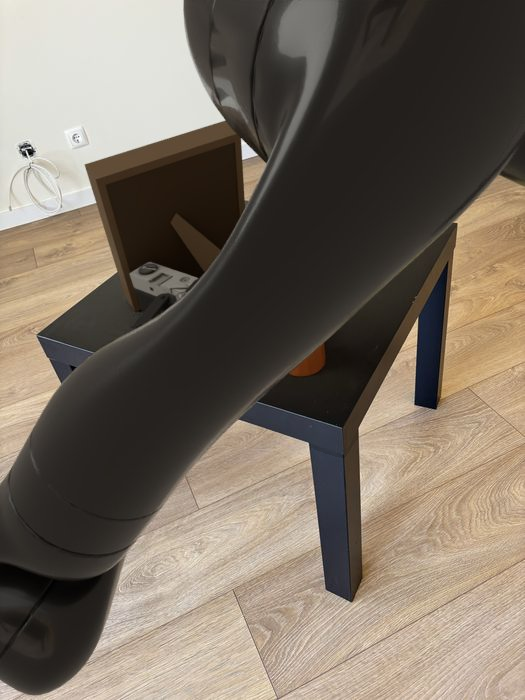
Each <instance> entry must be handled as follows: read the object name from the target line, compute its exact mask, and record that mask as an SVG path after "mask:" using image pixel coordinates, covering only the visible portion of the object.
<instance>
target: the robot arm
mask: <svg viewBox="0 0 525 700" xmlns="http://www.w3.org/2000/svg"><path fill="white" fill-rule="evenodd" d="M182 11H183V12H182V13H183V25H184V32H185V33H184V34H185V39H186V43H187V47H188V51H189V55H190V57H191V60H192V64H193V66H194V68H195V71H196V73H197V74H198V77H199V79H200V82H201V84H202V87H203V88H204V91H206V93H207V95H208V97H209V99H210V101H211V102H212V104H213V105H214V107H215V108H216V110H217V111H218V112H219V113H220V115H221V117H222V118H223V119H224V121H225V120H226V122H227V123H228V125H229V126H230V127H231V128H232V129H233V130H234V132H235V133H236V134H237V135H238V136H239V137H240V138H241V141H243V142H244V143H245V144H246V145H248V147H249V148H250V149H251V150H252V151H253V152H254V153H255V154H256V155H257V156H258V157H259V158H260V159H261V160H262V161H263V162H264V163H265V166H264V168H263V170H262V172H261V174H260V176H259V179H258V181H257V183H256V185H255V187H254V189H253V191H252V193H251V195H250V197H249V199H248V201H247V203H246V204H245V209H244V211H243V213H242V214H241V216H240V218H239V220H238V222H237V224H236V226H235V228H234V230H233V232H232V233H231V235H230V237H229V238H228V240H227V242H226V243H225V245H224V246H223V248H222V250H221V251H220V253H219V254H218V255H217V257H216V258H215V260H214V261H213V263H212V264H211V265H210V267H209V268H208V270H207V271H206V272H205V273H204V274H203V275H202V276H201V277H200V278H198V279H196V280H195V281H194V282H193V283H192V284H191V285H190V286H189V287H188V288H187V290H186V291H185V292H179V293H178V294H176V297H169V295H168V294H167V293H163V294H160V295H158V296H157V297H156V298H155V299H154V301H153V302H152V303H151V304H150V305H149V307H148V308H147V309H146V310H145V311H144V313H143V312H142V314H141V315H140V316H139V317H138V318H137V320H136V321H135V322H134V323H133V324H132V326H131V331H127V332H126V333H125V334H123V335H121V336H119V337H117V338H116V339H114V340H113V341H111V342H109V343H107V344H105V345H104V346H102V347H100V348H98V349H97V350H96V351H94V352H93V353H91V354H90V355H89V356H88V357H87V358H85V359H84V360H83V361H82V362H80V363H79V364H78V365H77V367H75V368H74V369H73V371H72V372H71V373H69V375H68V376H67V377H66V378H65V379H64V380H63V381H62V383H61V384H60V385H59V386H58V387H57V389H55V391H54V392H53V394H52V396H51V397H50V398H49V400H48V402H47V403H46V404H45V407H44V408H43V410H42V412H41V414H40V415H39V417H38V419H37V421H36V422H35V424H34V426H33V428H32V429H31V431H30V433H29V435H28V436H27V439H26V440H25V442H24V444H23V446H22V447H21V449H20V451H19V452H18V454H17V457H16V458H15V459H14V462H13V464H12V465H11V467H10V469H9V471H8V473H7V474H6V476H5V477H4V478H3V480H2V481H1V482H0V681H1V682H2V683H4V684H5V685H7V686H8V687H10V688H11V689H13V690H15V691H17V692H20V693H22V694H24V695H27V696H42V695H45V694H50V693H51V692H53V691H55V690H58V689H60V688H61V687H62V686H64V685H65V684H67V683H68V682H69V681H71V680H72V679H73V678H74V677H75V676H77V674H78V673H79V672H80V671H81V670H82V669H83V668H84V667H85V665H86V664H87V663H88V662H89V660H90V658H91V657H92V655H93V654H94V652H95V650H96V648H97V647H98V645H99V642H100V640H101V638H102V635H103V632H104V630H105V626H106V624H107V621H108V619H109V616H110V613H111V609H112V606H113V603H114V599H115V595H116V592H117V589H118V588H117V587H118V585H119V581H120V577H121V574H122V570H123V568H124V565H125V561H126V558H127V554H128V552H129V551H130V550H131V549H132V548H133V547H134V545H135V544H136V543H137V541H138V540H139V538H140V537H141V536H142V534H143V533H144V531H145V530H146V529H147V528H148V527H149V525H150V524H151V523H152V522H153V520H154V519H155V517H156V516H157V515H158V514H159V512H160V511H161V509H162V508H163V507H164V506H165V505H166V503H167V502H168V500H169V499H170V498H171V496H172V495H173V494H174V492H175V491H176V490H177V489H178V487H179V486H180V484H182V482H183V480H184V479H185V478H186V477H187V475H188V474H189V473H190V472H191V470H192V469H193V468H194V467H195V466H196V464H198V462H199V461H200V460H201V459H202V457H203V456H204V455H205V454H206V453H207V452H208V451H209V450H210V449H211V448H212V446H214V444H215V443H216V442H217V441H218V440H219V439H220V438H222V435H224V434H225V433H226V432H227V431H228V430H229V429H230V428H231V427H232V426H233V425H234V424H235V423H236V422H237V421H238V420H239V419H240V418H242V416H244V415H245V413H247V412H248V411H249V410H250V409H251V408H252V407H253V406H254V405H255V404H257V402H259V401H260V400H261V399H262V398H263V397H265V396H266V394H268V393H269V392H270V391H272V389H273V388H275V387H276V386H277V385H278V384H279V383H280V382H282V380H283V379H285V378H286V377H287V376H288V375H290V374H289V373H290V372H291V371H293V370H294V369H295V368H296V367H297V366H298V365H299V364H301V363H302V362H303V361H304V360H305V359H306V358H307V357H309V356H310V355H311V354H312V353H313V352H314V351H315V350H316V349H317V348H319V347H320V346H321V345H322V344H323V343H324V344H325V342H327V341H328V340H329V339H330V338H332V336H333V335H334V334H335V333H336V332H338V331H339V330H340V329H341V328H342V327H343V326H344V325H345V324H346V323H347V322H348V321H349V320H351V319H352V318H353V317H354V316H356V314H357V313H358V312H359V311H360V310H361V309H362V308H363V307H364V306H366V305H367V304H368V303H369V302H370V301H371V300H372V299H373V298H374V297H375V296H376V295H377V294H379V293H380V292H381V291H382V290H383V288H384V289H385V287H386V286H387V285H388V284H390V283H391V282H392V281H393V280H394V279H395V278H396V277H397V276H399V274H400V273H402V272H403V270H405V268H407V267H408V266H409V265H411V263H412V262H413V261H414V260H416V259H417V258H418V257H419V256H420V255H421V254H422V253H423V252H424V251H425V250H427V249H428V248H429V247H430V245H432V244H433V243H434V242H435V241H436V240H437V239H438V238H439V237H441V236H442V235H443V233H445V232H446V231H447V230H448V229H449V227H451V226H452V225H453V224H454V223H455V222H456V221H457V220H458V219H459V218H460V217H461V216H462V215H463V214H464V213H465V212H466V211H467V210H468V209H469V208H470V207H471V206H472V204H473V203H475V202H476V200H478V198H479V197H480V196H482V194H483V193H484V192H485V191H486V190H487V189H488V188H489V187H490V185H491V184H492V183H493V182H494V180H496V179H497V177H498V176H499V177H502V178H504V179H506V180H508V181H511V182H513V183H515V184H517V185H519V186H522V187H524V188H525V0H183V9H182Z"/></svg>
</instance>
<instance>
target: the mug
mask: <svg viewBox="0 0 525 700" xmlns="http://www.w3.org/2000/svg"><path fill="white" fill-rule="evenodd" d="M325 349H326V348H325V342H324V343H323V344H322V345H321V346H320V347H319V348H317V349H316V350H315V351H314V352H313V353H312V354H311V355H310V356H309V357H307V358H306V359H305V360H304V361H303V362H302V363H301V364H299V365H298V366H297V367H296V368H295V369H294V370H293V371H291V372H290V373H289V374H288V375H290V376H294V377H307V376H308V377H309V376H312V375H314V374H317V373H318V372H320V371H321V370H322V369H323V368H324V366H325V365H326V350H325Z"/></svg>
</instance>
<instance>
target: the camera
mask: <svg viewBox="0 0 525 700" xmlns="http://www.w3.org/2000/svg"><path fill="white" fill-rule="evenodd" d="M130 277H131V280H132V283H133V286H134V289H136V290H135V291H136V294H137V297H138V300H139V303H140V305H141V308H142V310H141V311H142V314H143V313H144V311H145V310H146V309H147V308H148V307H149V305H150V304H151V303H152V302H153V301H154V299H155V298H156V297H157V296H158V295H160V294H163V293H167V294H168V295H169V297H176V294H178V293H179V292H185V291H186V290H187V288H188V287H189V286H190V285H191V284H192V283H193V282H194V281H195V280H196V279H198V278H196V277H193V276H190V275H188V274H185V273H182V272H179V271H176V270H173V269H170V268H167V267H164V266H161V265H158V264H155V263H152V262H148V263H146V264H144V265H143V266H141V267H139V268H138V269H136V270H134V271H133V272H131V273H130Z"/></svg>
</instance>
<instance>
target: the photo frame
mask: <svg viewBox="0 0 525 700" xmlns="http://www.w3.org/2000/svg"><path fill="white" fill-rule="evenodd" d="M242 146H243V145H242V139H241V138H240V137H239V136H238V135H237V134H236V133H235V132H234V130H233V129H232V128H231V127H230V126H229V125H228V123H227V122H226V120H225V119H224V120H222V121H219V122H215V123H213V124H210V125H206V126H203V127H199V128H196V129H194V130H190V131H187V132H184V133H180V134H177V135H174V136H171V137H168V138H164V139H161V140H159V141H155V142H152V143H149V144H145V145H143V146H140V147H139V146H138V147H136V148H133V149H129V150H126V151H123V152H119V153H117V154H113V155H111V156H107V157H104V158H100V159H98V160H94V161H90V162H88V163H84V168H85V170H86V171H85V172H86V174H87V177H88V180H89V184H90V187H91V191H92V194H93V197H94V201H95V203H96V206H97V210H98V213H99V217H100V219H101V223H102V226H103V230H104V233H105V237H106V239H107V243H108V246H109V249H110V252H111V255H112V258H113V259H112V260H113V262H114V265H115V268H116V269H115V270H116V272H117V275H118V278H119V281H120V285H121V289H122V291H123V294H124V297H125V299H126V300H127V302H128V304H129V305H130V307H131V308H132V310H133V311H134V313H136V312H140V311H142V308H141V305H140V303H139V300H138V297H137V294H136V291H135V290H136V289H134V286H133V283H132V280H131V277H130V273H131V272H133V271H134V270H136V269H138V268H139V267H141V266H143V265H144V264H146V263H148V262H152V263H155V264H158V265H161V266H164V267H167V268H170V269H173V270H176V271H179V272H182V273H185V274H188V275H190V276H193V277H196V278H200V277H201V276H202V275H203V274H204V273H205V272H206V271H207V270H208V268H209V267H210V265H211V264H212V263H213V261H214V260H215V258H216V257H217V255H218V254H219V253H220V251H221V250H222V248H223V246H224V245H225V243H226V242H227V240H228V238H229V237H230V235H231V233H232V232H233V230H234V228H235V226H236V224H237V222H238V220H239V218H240V216H241V214H242V213H243V211H244V209H245V207H246V201H245V183H244V182H245V181H244V165H243V149H242V148H243V147H242Z"/></svg>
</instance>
